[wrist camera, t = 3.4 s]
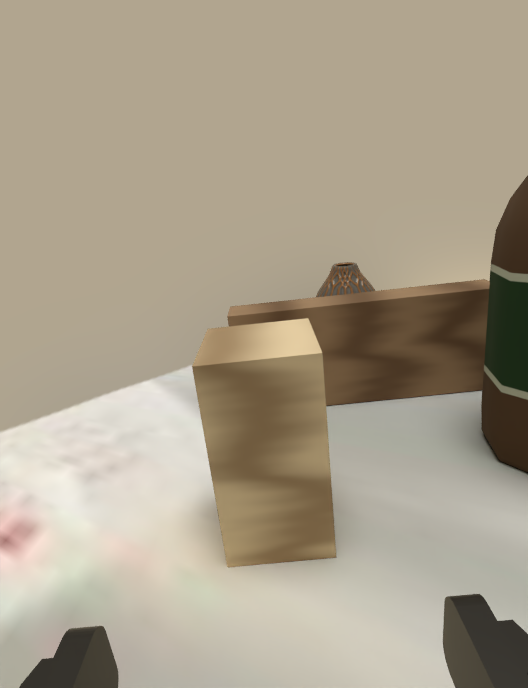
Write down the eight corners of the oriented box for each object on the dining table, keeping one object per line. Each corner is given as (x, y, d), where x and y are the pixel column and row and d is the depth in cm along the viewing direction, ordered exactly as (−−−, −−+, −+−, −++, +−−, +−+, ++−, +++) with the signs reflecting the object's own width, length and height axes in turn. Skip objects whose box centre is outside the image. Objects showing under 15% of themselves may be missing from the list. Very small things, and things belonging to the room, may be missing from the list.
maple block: (321, 486, 24) (308, 318, 21) (336, 557, 19) (322, 352, 16) (234, 495, 24) (207, 328, 21) (227, 567, 19) (191, 366, 16)
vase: (303, 352, 45) (296, 270, 42) (336, 332, 50) (332, 258, 47) (362, 362, 40) (359, 271, 38) (392, 340, 45) (391, 258, 42)
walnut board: (478, 373, 35) (484, 279, 33) (497, 388, 32) (505, 286, 30) (242, 397, 36) (230, 306, 33) (241, 414, 33) (227, 316, 30)
